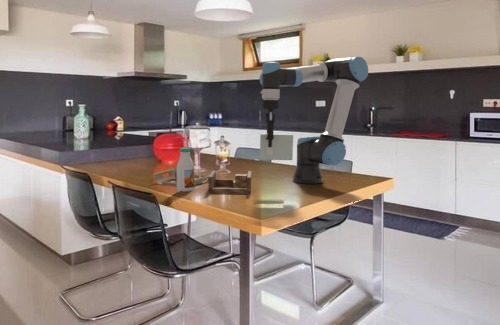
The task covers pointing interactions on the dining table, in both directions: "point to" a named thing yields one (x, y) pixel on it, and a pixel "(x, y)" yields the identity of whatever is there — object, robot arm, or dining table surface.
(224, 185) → the rack
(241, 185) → the offcut
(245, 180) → the offcut
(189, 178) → the milk bottle
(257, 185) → the dining table surface
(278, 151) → the sheet
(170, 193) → the dining table surface
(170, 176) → the toy food set
